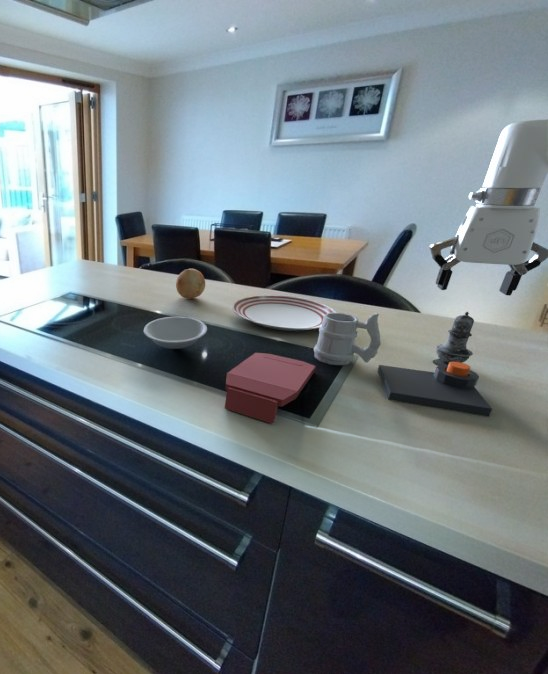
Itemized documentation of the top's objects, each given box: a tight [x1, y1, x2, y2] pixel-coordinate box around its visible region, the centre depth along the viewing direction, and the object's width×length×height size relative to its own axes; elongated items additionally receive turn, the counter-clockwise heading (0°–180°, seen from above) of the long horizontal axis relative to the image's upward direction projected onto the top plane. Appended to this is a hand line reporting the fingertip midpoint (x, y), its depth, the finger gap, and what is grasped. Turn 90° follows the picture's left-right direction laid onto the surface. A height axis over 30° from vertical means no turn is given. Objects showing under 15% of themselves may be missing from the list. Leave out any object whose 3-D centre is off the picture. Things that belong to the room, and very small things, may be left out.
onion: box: [175, 268, 206, 300], centre depth 131 cm, size 10×10×10 cm
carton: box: [224, 352, 316, 424], centre depth 76 cm, size 12×5×25 cm
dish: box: [143, 316, 208, 350], centre depth 94 cm, size 18×14×5 cm
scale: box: [376, 364, 493, 418], centre depth 72 cm, size 14×12×4 cm
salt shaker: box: [432, 311, 475, 367], centre depth 80 cm, size 6×6×12 cm
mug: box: [313, 312, 382, 366], centre depth 83 cm, size 8×12×12 cm, turn 47°
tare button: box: [446, 362, 471, 376], centre depth 72 cm, size 3×3×2 cm
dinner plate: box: [231, 294, 338, 332], centre depth 110 cm, size 27×27×3 cm
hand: (472, 290), depth 76 cm, fingers open, 9 cm apart
